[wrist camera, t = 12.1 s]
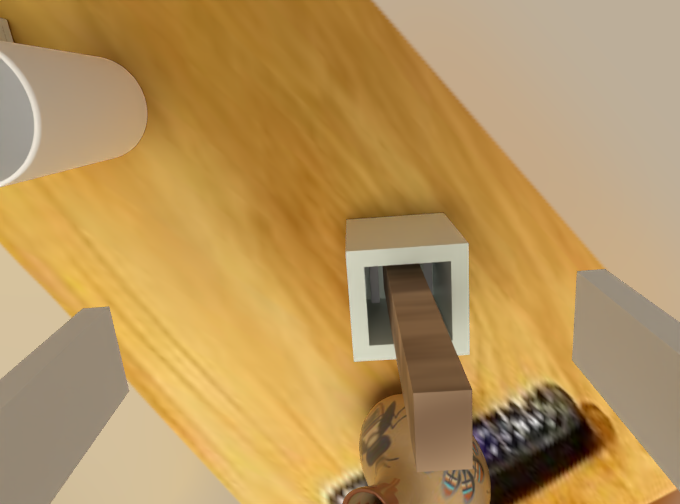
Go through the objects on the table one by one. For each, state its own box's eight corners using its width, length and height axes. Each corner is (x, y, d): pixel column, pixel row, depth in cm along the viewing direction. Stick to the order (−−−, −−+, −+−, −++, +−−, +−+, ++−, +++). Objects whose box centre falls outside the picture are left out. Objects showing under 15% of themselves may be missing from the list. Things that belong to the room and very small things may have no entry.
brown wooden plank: (381, 244, 46) (413, 393, 23) (410, 242, 46) (471, 389, 23) (383, 287, 47) (416, 472, 24) (412, 286, 47) (472, 469, 24)
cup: (155, 71, 43) (46, 57, 27) (139, 170, 45) (30, 207, 30) (54, 44, 42) (-115, 13, 27) (43, 144, 45) (-118, 169, 29)
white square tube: (346, 219, 46) (345, 251, 36) (443, 212, 46) (468, 243, 36) (353, 309, 48) (353, 361, 39) (445, 303, 48) (469, 354, 38)
